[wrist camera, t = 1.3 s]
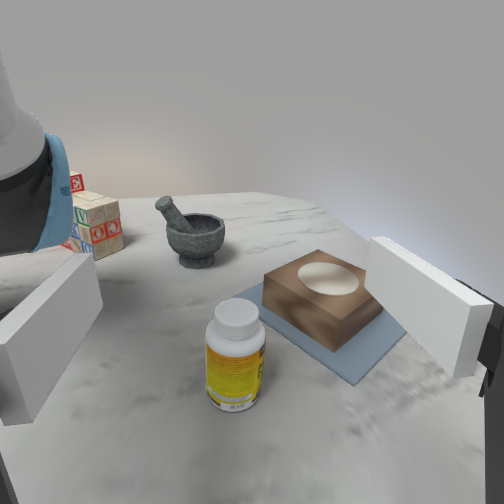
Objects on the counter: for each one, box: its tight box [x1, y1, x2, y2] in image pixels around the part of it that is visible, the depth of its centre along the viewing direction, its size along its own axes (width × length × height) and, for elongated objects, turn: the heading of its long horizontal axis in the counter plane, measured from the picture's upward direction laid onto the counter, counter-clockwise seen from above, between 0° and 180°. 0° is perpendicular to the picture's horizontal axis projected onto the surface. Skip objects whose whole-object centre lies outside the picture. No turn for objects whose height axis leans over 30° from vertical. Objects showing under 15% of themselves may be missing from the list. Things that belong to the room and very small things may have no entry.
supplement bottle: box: [205, 298, 266, 412], centre depth 31 cm, size 6×6×10 cm
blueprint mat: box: [233, 282, 407, 386], centre depth 45 cm, size 20×16×1 cm
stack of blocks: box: [61, 171, 124, 260], centre depth 58 cm, size 21×6×12 cm, turn 59°
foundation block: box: [262, 250, 384, 353], centre depth 44 cm, size 12×12×5 cm
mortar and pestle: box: [155, 196, 225, 269], centre depth 53 cm, size 11×9×12 cm
